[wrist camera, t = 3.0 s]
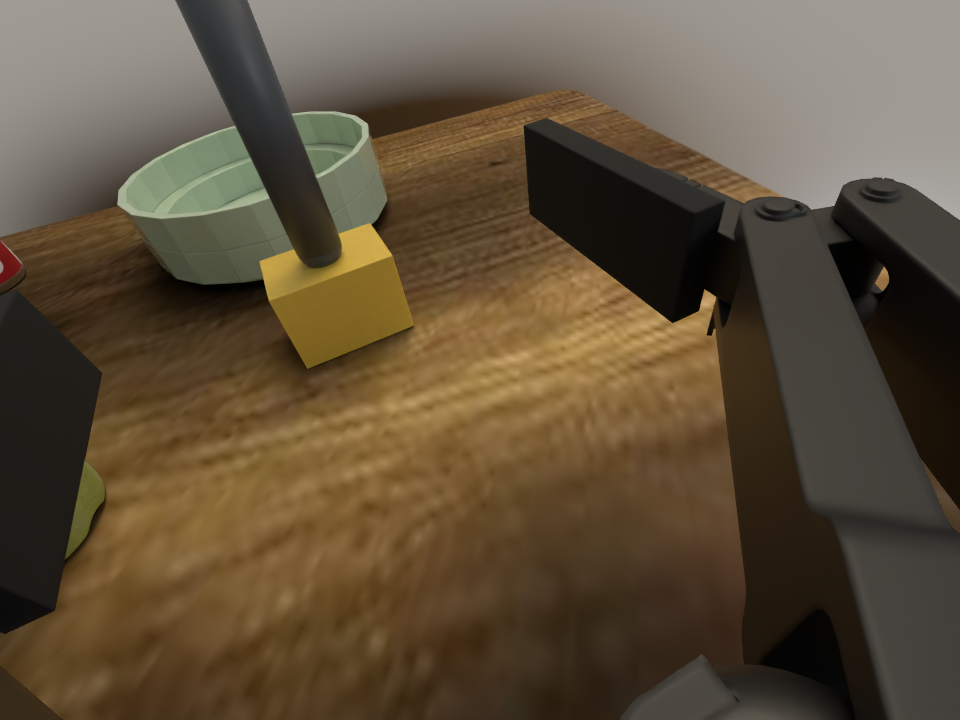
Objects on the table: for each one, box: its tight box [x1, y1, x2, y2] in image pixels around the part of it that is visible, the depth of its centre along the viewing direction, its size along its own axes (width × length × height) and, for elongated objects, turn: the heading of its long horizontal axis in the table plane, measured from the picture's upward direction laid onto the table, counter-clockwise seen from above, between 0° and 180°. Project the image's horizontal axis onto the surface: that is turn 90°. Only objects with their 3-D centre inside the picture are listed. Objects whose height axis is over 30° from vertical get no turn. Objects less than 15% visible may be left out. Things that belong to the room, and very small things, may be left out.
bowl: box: [118, 112, 387, 285], centre depth 35 cm, size 17×17×6 cm
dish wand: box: [176, 0, 414, 369], centre depth 21 cm, size 6×4×17 cm, turn 115°
